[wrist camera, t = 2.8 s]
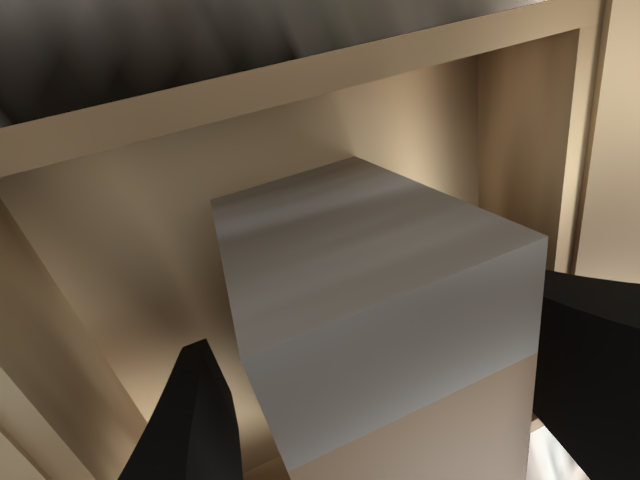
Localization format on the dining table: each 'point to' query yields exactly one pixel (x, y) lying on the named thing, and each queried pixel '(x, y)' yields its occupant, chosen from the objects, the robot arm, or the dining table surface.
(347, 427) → the block
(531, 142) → the carton
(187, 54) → the dining table surface
